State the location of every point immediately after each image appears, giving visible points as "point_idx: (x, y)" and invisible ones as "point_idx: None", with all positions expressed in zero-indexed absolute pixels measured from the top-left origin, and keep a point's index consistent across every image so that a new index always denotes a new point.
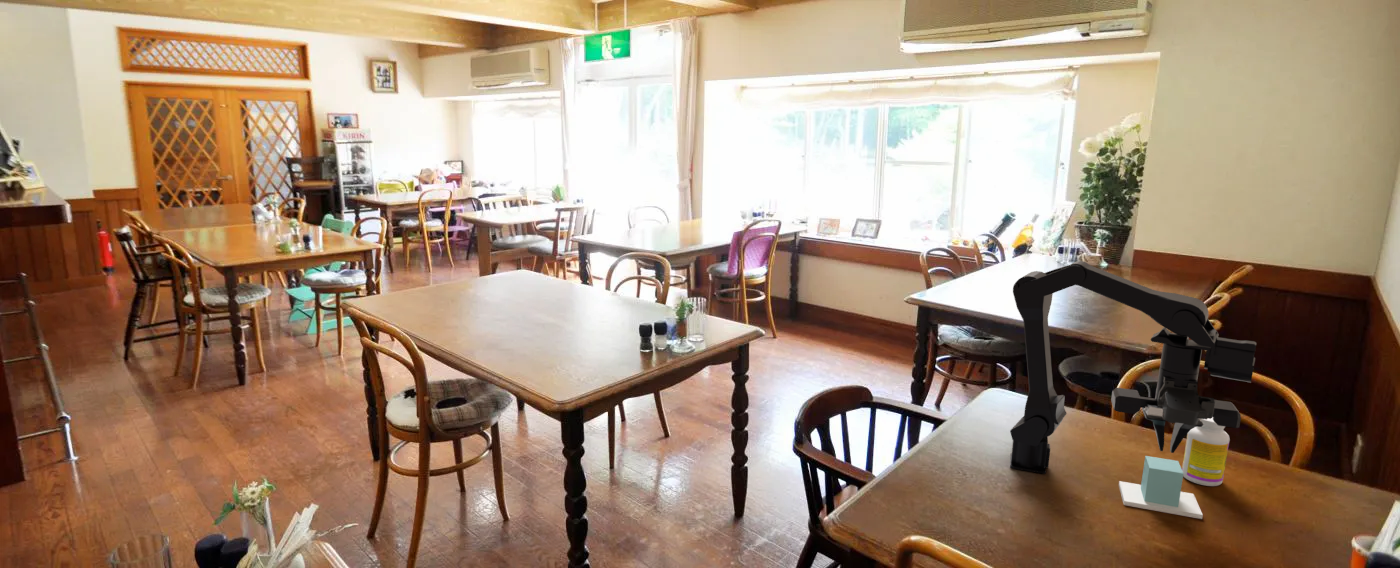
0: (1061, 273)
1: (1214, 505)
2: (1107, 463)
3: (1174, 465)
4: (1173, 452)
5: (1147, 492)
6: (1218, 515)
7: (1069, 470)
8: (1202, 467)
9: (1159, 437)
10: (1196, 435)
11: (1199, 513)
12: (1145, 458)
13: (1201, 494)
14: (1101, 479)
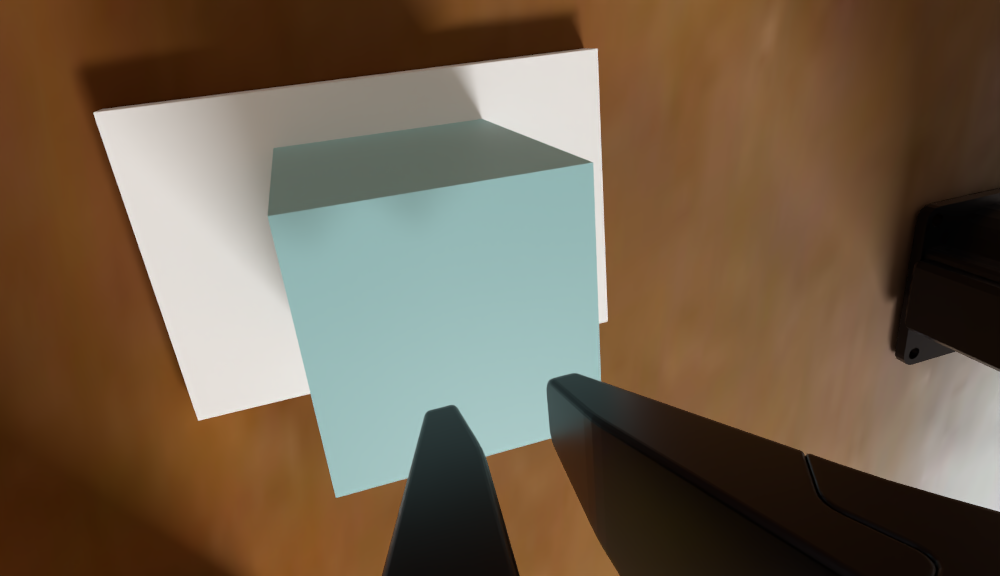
0: None
1: (56, 382)
2: None
3: (366, 370)
4: (429, 412)
5: (492, 130)
6: (3, 243)
7: (802, 330)
8: None
9: (740, 439)
10: None
11: (120, 129)
12: None
13: (156, 483)
14: (672, 324)
